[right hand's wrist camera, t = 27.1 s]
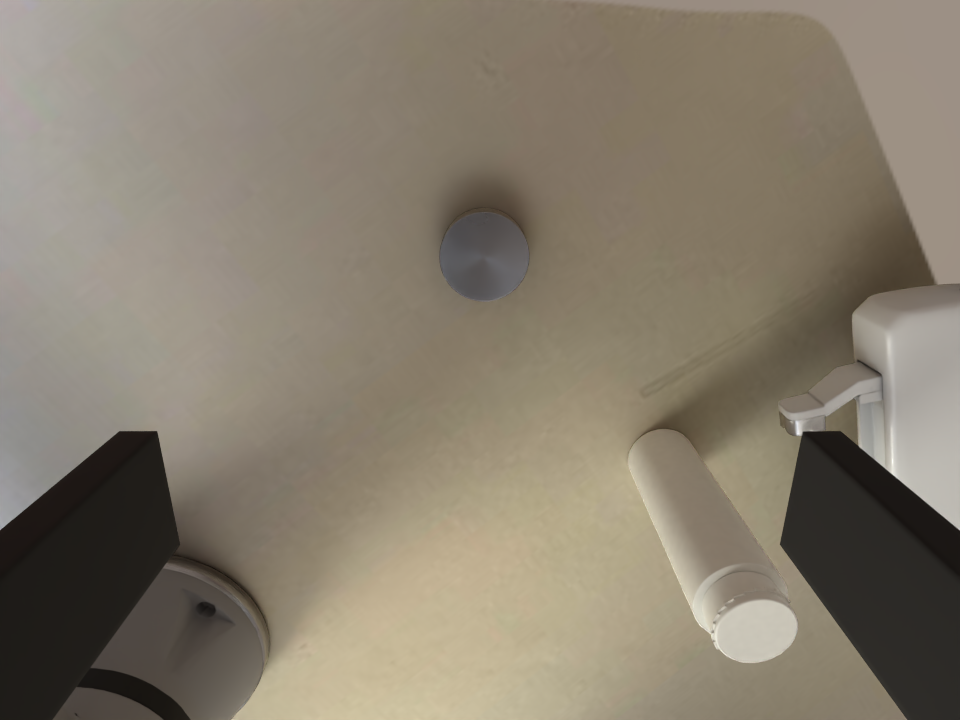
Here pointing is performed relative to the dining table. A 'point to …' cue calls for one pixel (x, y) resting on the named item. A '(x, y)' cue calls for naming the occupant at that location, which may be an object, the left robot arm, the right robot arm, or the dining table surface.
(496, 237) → the lid
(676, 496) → the bottle
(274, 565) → the dining table surface
